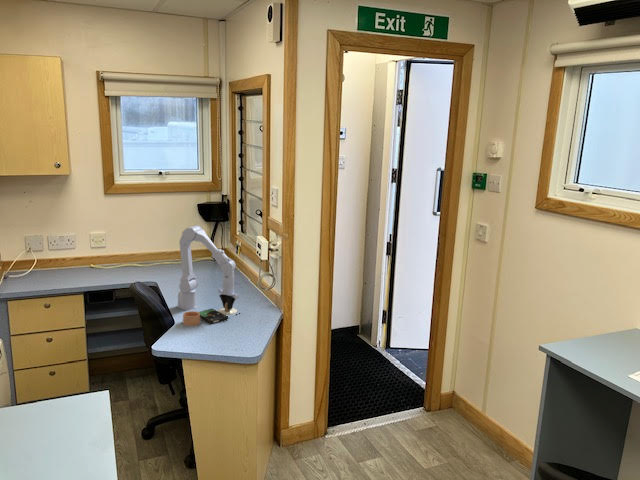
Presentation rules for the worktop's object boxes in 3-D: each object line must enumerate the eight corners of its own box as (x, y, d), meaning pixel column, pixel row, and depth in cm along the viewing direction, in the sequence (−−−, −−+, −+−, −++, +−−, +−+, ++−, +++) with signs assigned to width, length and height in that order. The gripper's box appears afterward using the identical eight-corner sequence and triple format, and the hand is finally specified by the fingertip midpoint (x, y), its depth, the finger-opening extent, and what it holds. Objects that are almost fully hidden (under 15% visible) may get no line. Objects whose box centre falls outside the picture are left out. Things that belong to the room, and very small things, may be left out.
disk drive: (228, 321, 256) (211, 313, 266) (228, 316, 256) (212, 307, 266) (211, 326, 249) (194, 317, 259) (211, 320, 248) (194, 312, 258)
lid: (213, 311, 266) (214, 302, 265) (229, 307, 273) (229, 299, 272) (225, 317, 259) (226, 308, 258) (241, 312, 267) (241, 304, 266)
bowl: (179, 322, 250) (179, 313, 249) (193, 318, 256) (193, 310, 255) (189, 327, 245) (189, 318, 244) (203, 323, 251) (203, 314, 250)
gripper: (213, 281, 265) (212, 306, 268) (230, 288, 256) (230, 314, 258) (224, 279, 270) (223, 303, 273) (241, 285, 261) (241, 311, 263)
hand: (227, 308), depth 266 cm, fingers closed on lid, 3 cm apart
